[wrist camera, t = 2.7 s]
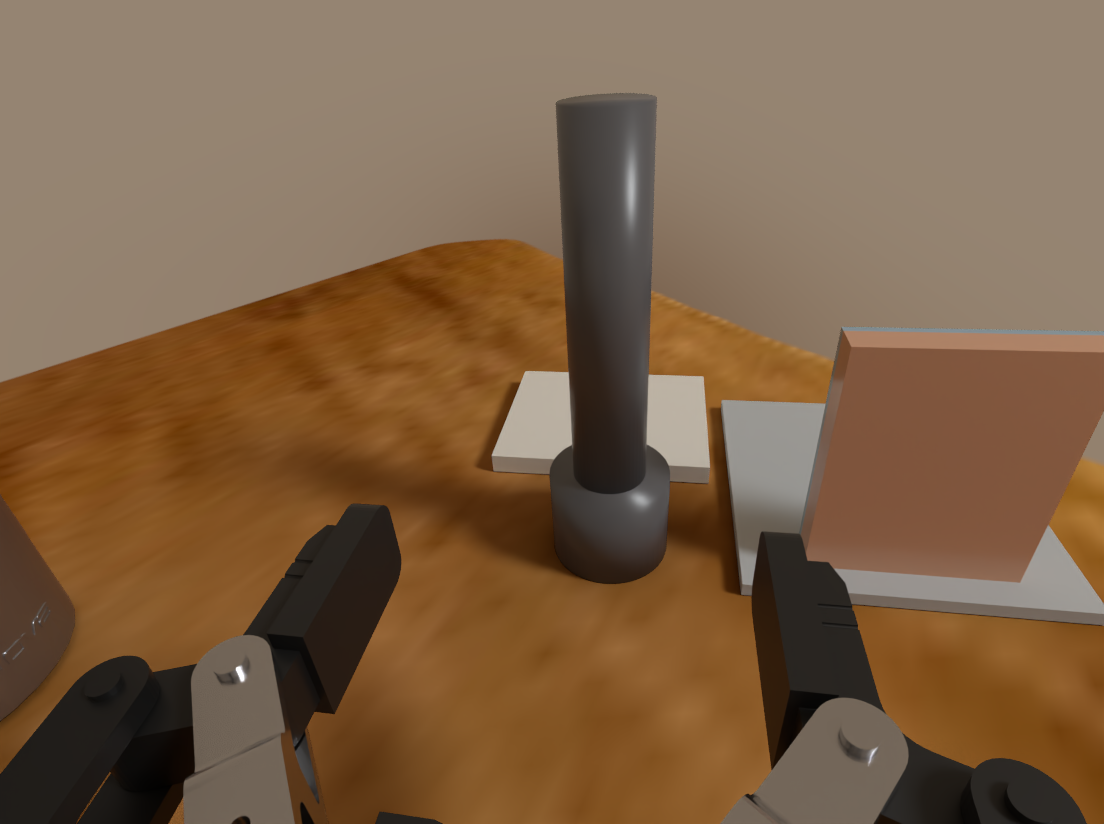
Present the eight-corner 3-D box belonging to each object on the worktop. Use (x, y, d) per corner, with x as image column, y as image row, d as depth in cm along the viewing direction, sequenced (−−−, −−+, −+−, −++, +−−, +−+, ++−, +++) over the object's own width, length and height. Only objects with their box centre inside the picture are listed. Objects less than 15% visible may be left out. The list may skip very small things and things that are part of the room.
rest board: (493, 471, 34) (491, 455, 33) (526, 384, 41) (525, 371, 40) (708, 483, 32) (709, 467, 31) (702, 390, 39) (703, 376, 39)
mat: (740, 594, 26) (742, 584, 25) (720, 408, 37) (721, 399, 37) (1104, 625, 24) (1111, 614, 23) (963, 418, 35) (966, 408, 35)
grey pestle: (546, 578, 27) (505, 116, 17) (563, 501, 31) (538, 92, 22) (665, 588, 26) (693, 109, 17) (667, 507, 30) (690, 86, 21)
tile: (803, 566, 26) (851, 346, 21) (797, 540, 27) (841, 326, 22) (1020, 582, 25) (1131, 352, 19) (1003, 554, 26) (1104, 331, 21)
